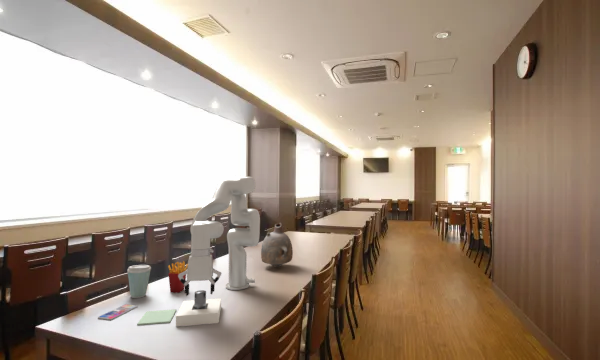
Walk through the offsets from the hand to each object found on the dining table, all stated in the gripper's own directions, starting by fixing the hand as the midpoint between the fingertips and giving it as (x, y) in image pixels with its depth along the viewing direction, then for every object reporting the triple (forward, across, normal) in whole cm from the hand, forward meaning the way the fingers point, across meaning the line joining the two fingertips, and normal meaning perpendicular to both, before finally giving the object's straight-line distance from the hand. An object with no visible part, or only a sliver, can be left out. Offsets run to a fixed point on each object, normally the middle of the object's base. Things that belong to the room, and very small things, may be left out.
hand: (199, 294), depth 125 cm
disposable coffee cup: (+9, +33, -32) cm, 46 cm away
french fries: (+9, +16, -37) cm, 41 cm away
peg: (+9, 0, -1) cm, 9 cm away
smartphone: (+10, +35, -12) cm, 38 cm away
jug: (+8, -41, -73) cm, 84 cm away
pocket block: (+9, 0, -1) cm, 9 cm away
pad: (+9, +17, -3) cm, 19 cm away
